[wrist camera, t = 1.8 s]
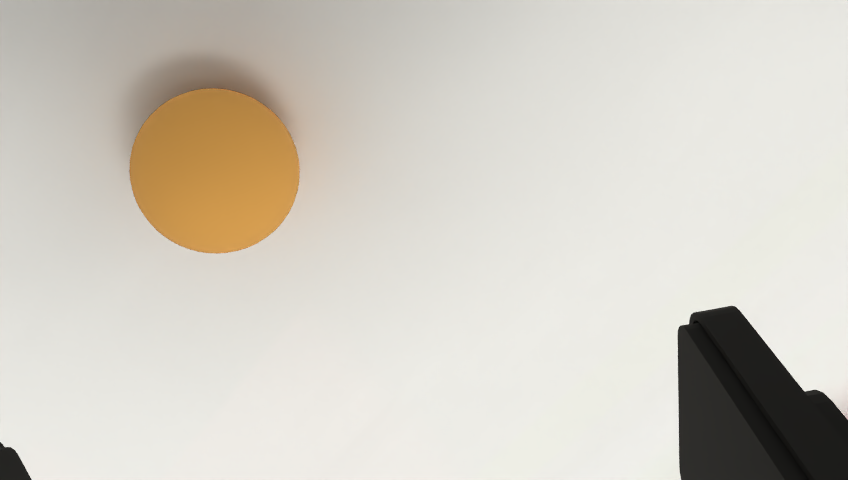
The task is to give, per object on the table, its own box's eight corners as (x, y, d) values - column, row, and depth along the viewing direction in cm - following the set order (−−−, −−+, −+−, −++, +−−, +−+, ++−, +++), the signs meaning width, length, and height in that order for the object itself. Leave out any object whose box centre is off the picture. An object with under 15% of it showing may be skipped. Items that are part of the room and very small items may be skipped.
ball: (133, 79, 28) (84, 133, 23) (289, 59, 28) (274, 109, 23) (173, 218, 30) (137, 294, 25) (316, 200, 30) (307, 271, 25)
